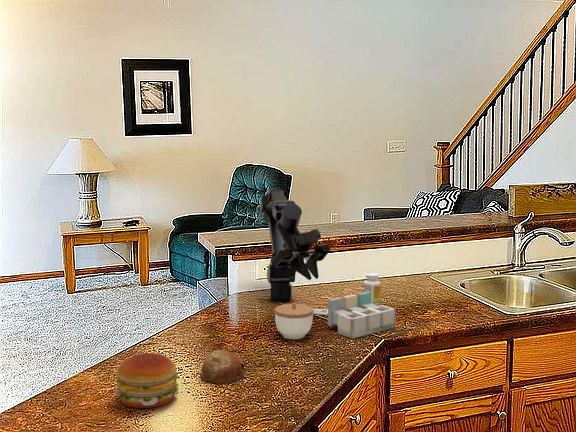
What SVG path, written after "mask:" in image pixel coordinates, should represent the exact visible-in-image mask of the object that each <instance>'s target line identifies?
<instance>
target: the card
mask: <svg viewBox="0 0 576 432" xmlns="http://www.w3.org/2000/svg"><path fill="white" fill-rule="evenodd" d="M315 314H316V315H319V316H328V308H313V315H315Z"/></svg>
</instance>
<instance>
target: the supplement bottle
mask: <svg viewBox="0 0 576 432" xmlns="http://www.w3.org/2000/svg"><path fill="white" fill-rule="evenodd" d="M365 279H366V280H364V281H363V292H371V304H374V305H377V306H379V305H381V281H379V274H378V273H377V272H376V273H375V272H370V273H366V274H365Z"/></svg>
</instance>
